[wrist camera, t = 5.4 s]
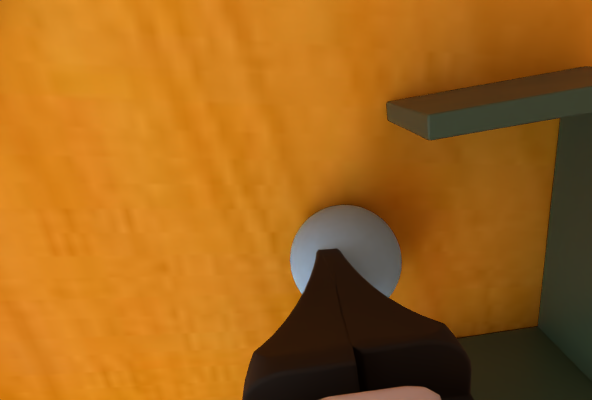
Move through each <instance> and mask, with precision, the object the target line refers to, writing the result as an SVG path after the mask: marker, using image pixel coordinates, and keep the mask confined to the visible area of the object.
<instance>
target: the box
mask: <svg viewBox="0 0 592 400" xmlns="http://www.w3.org/2000/svg"><path fill="white" fill-rule="evenodd" d="M387 118H388V121H390V122H392V123H394V124H396V125H398V126H401V127H403V128H405V129H407V130H409V131H411V132H413V133H415V134H417V135H419V136H421V137H423V138H425V139H427V140H436V139H441V138H447V137H453V136H459V135H464V134H470V133H476V132H482V131H487V130H493V129H499V128H505V127H510V126H516V125H522V124H528V123H533V122H539V121H545V120H551V119H556V118H560V126H559V135H558V144H557V154H556V163H555V172H554V181H553V190H552V200H551V209H550V218H549V227H548V236H547V246H546V255H545V264H544V273H543V282H542V292H541V301H540V310H539V319H538V326H537V327H530V328H523V329H517V330H510V331H504V332H497V333H491V334H484V335H478V336H471V337H465V338H458V339H457V340H458V341H459V342H460V343H461V345H462V346H463V348H464V349H465V351H466V353H467V355H468V357H469V359H470V360H471V367H472V375H471V395H472V397H473V399H474V400H592V67H579V68H573V69H568V70H562V71H557V72H551V73H546V74H540V75H534V76H529V77H523V78H518V79H512V80H506V81H501V82H495V83H490V84H484V85H478V86H473V87H467V88H462V89H456V90H450V91H445V92H439V93H434V94H428V95H422V96H417V97H411V98H406V99H400V100H395V101H389V102H387Z"/></svg>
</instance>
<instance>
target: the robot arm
mask: <svg viewBox="0 0 592 400" xmlns="http://www.w3.org/2000/svg"><path fill="white" fill-rule="evenodd" d="M471 375H472V367H471V360H470V359H469V357H468V355H467V353H466V351H465V349H464V348H463V346H462V345H461V343H460V342H459V341H458V340H457V338H456V337H455V336H454V335H453V333H452V332H451V331H450V330H449V328H448V327H447V326H446V325H445V324H443V323H441V322H438V321H435V320H433V319H430V318H427V317H425V316H422V315H420V314H418V313H416V312H413V311H411V310H409V309H407V308H405V307H403V306H402V305H400V304H398V303H396V302H395V301H393V300H391V299H390V298H388V297H387V296H385V295H384V294H382V293H381V292H380V291H378V290H377V289H376V288H375V287H373V286H372V285H371V284H370V283H369V282H368V281H367V280H365V279H364V278H363V277H362V276H361V275H360V274H359V273H358V272H357V271H356V270H355V269H354V267H353V266H352V265H351V264H350V263H349V262H348V261H347V259H346V258H345V257H344V255H343V254H342V253H341V251H340V250H339V249H337V248H335V249H322V250H318V251H317V252H316V259H315V263H314V267H313V270H312V273H311V275H310V278H309V281H308V283H307V285H306V287H305V290H304V292H303V294H302V296H301V298H300V299H299V301H298V303H297V305H296V306H295V308H294V309H293V311H292V312H291V314H290V315H289V317H288V318H287V319H286V321H285V322H284V323H283V324H282V325H281V327H280V328H279V329H278V330H277V331H276V332H275V333H274V335H273V336H272V337H271V338H270V339H268V340H267V341H266V342H265V343H264V344H263V345H262V346H261V347H259V348H258V349H257V350H256V351H255V352H254V353H253V356H252V358H251V361H250V364H249V368H248V371H247V375H246V379H245V384H244V391H243V399H242V400H474V399H473V397H472V395H471Z"/></svg>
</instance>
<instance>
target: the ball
mask: <svg viewBox="0 0 592 400" xmlns="http://www.w3.org/2000/svg"><path fill="white" fill-rule="evenodd" d="M335 248H337V249H339V250H340V251H341V253H342V254H343V255H344V257H345V258H346V259H347V261H348V262H349V263H350V264H351V265H352V266H353V267H354V269H355V270H356V271H357V272H358V273H359V274H360V275H361V276H362V277H363V278H364V279H365V280H367V281H368V282H369V283H370V284H371V285H372V286H373V287H375V288H376V289H377V290H378V291H380V292H381V293H382V294H384V295H385V296H387V297H388V298H389V296H390V295H391V294H392V293H393V291H394V289H395V287H396V285H397V283H398V280H399V277H400V273H401V264H402V258H401V251H400V247H399V244H398V241H397V239H396V237H395V235H394V233H393V231H392V230H391V228H390V227H389V226H388V225H387V223H386V222H385V221H384V220H383V219H381V218H380V217H379V216H378V215H376V214H375V213H373V212H371V211H369V210H367V209H365V208H362V207H358V206H353V205H336V206H331V207H327V208H325V209H322V210H320V211H318V212H317V213H315V214H313V215H312V216H311V217H309V218H308V219H307V220H306V221H305V222H304V223H303V225H302V226H301V227H300V229H299V230H298V232H297V234H296V236H295V238H294V241H293V244H292V248H291V255H290V264H291V271H292V275H293V278H294V281H295V283H296V285H297V287H298V289H299V290H300V292H301V293H302V294H303V292H304V290H305V287H306V285H307V283H308V281H309V278H310V275H311V273H312V270H313V267H314V263H315V259H316V252H317V251H318V250H322V249H335Z"/></svg>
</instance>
